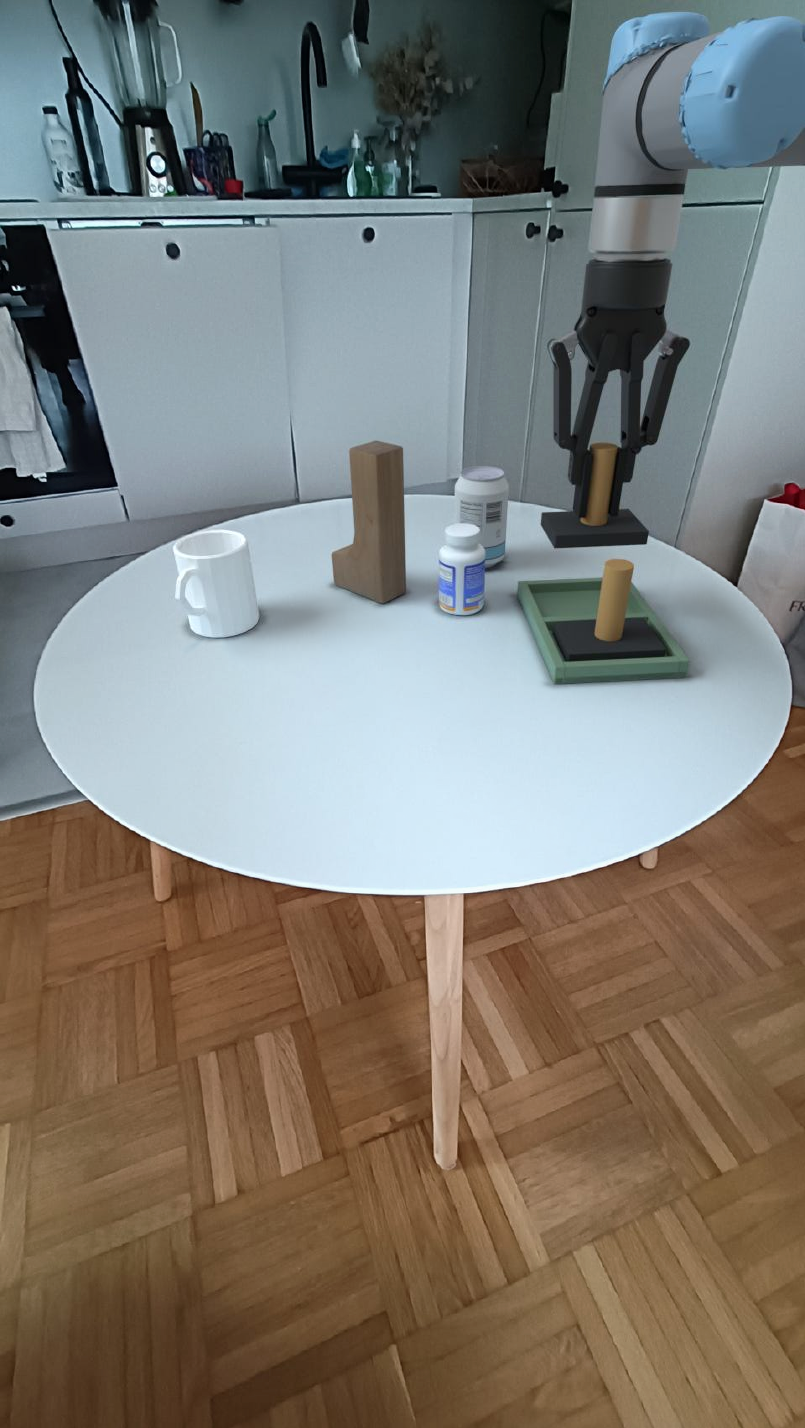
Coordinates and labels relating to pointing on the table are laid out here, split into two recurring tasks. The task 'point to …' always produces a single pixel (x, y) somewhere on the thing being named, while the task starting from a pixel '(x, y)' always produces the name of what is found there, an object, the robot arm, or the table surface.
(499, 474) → the beverage can
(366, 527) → the wooden block
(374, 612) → the table surface
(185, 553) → the mug
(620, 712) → the table surface
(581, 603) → the pad holder
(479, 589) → the pill bottle
